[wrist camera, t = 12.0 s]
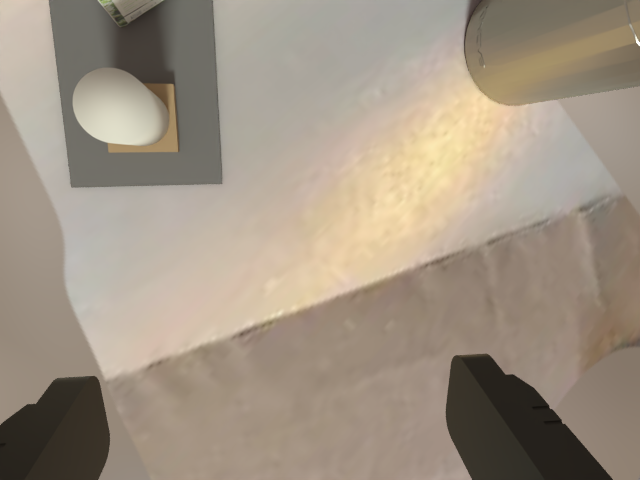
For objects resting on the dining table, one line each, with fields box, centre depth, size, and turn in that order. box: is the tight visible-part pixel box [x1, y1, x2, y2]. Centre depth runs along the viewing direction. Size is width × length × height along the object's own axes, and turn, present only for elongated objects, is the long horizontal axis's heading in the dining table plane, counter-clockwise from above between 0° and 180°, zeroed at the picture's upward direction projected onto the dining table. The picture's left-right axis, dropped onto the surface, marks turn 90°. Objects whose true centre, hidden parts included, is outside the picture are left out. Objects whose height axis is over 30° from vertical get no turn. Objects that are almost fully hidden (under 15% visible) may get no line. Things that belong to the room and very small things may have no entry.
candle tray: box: [49, 0, 222, 187], centre depth 25 cm, size 10×20×9 cm, turn 0°
